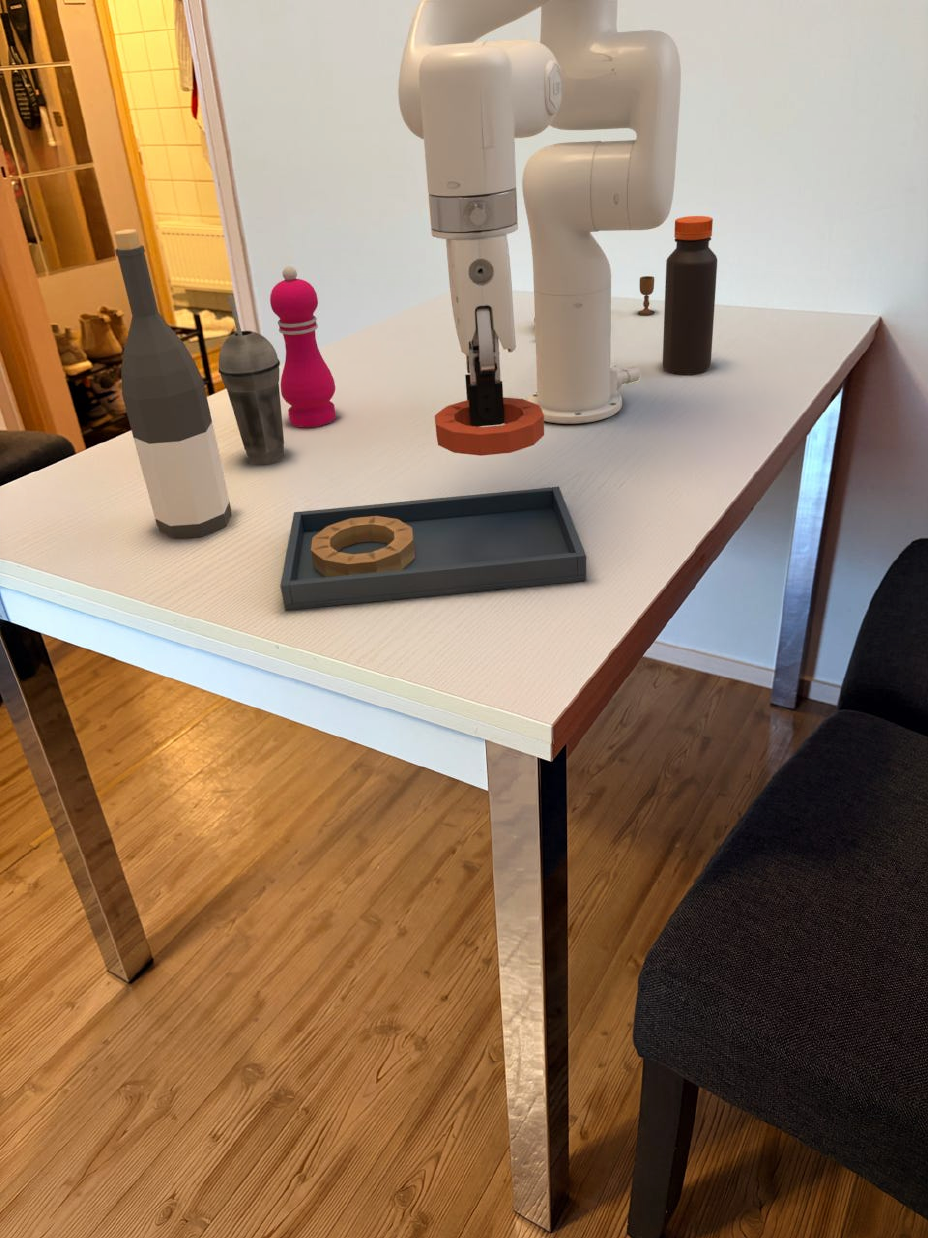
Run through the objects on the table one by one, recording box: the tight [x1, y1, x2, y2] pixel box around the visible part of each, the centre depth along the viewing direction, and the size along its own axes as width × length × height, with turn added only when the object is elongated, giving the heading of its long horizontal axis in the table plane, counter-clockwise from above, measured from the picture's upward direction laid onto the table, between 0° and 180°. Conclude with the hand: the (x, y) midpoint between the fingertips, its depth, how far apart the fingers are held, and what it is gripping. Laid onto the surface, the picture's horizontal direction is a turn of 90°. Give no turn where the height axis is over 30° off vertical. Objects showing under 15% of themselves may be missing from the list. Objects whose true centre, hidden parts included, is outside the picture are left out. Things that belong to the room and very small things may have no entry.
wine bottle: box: [113, 228, 232, 540], centre depth 97 cm, size 8×8×30 cm
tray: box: [280, 486, 587, 611], centre depth 93 cm, size 28×16×3 cm, turn 94°
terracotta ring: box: [434, 396, 545, 457], centre depth 88 cm, size 10×10×2 cm
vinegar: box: [662, 215, 718, 375], centre depth 132 cm, size 7×7×20 cm
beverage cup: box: [218, 294, 286, 466], centre depth 114 cm, size 7×7×20 cm
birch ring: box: [311, 516, 415, 577], centre depth 93 cm, size 10×10×2 cm
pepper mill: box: [269, 265, 337, 429], centre depth 125 cm, size 7×7×20 cm
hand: (485, 417), depth 92 cm, fingers closed on terracotta ring, 2 cm apart
